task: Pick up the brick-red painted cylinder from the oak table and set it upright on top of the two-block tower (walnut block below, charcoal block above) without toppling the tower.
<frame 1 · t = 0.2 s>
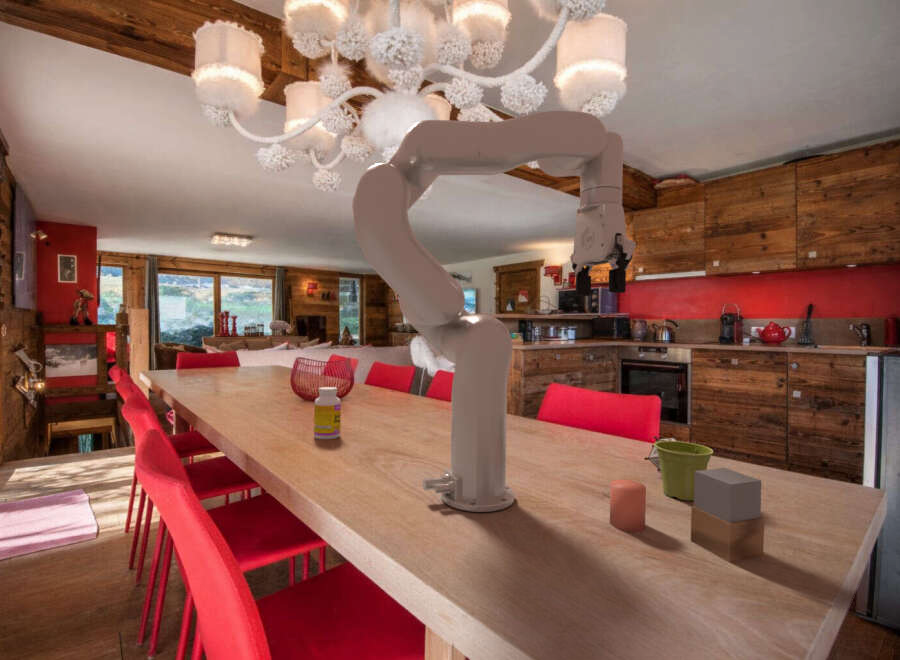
hand: (599, 294, 84), 36 cm above the table, tool pointing down, fingers open, 9 cm apart
game die: (669, 476, 91), on the table
tower top: (726, 512, 61), point 5 cm above the table, touching tower base
tower base: (725, 548, 61), on the table, touching tower top
cylinder: (627, 524, 68), on the table
supplement bottle: (327, 437, 118), on the table
plant pot: (682, 496, 81), on the table
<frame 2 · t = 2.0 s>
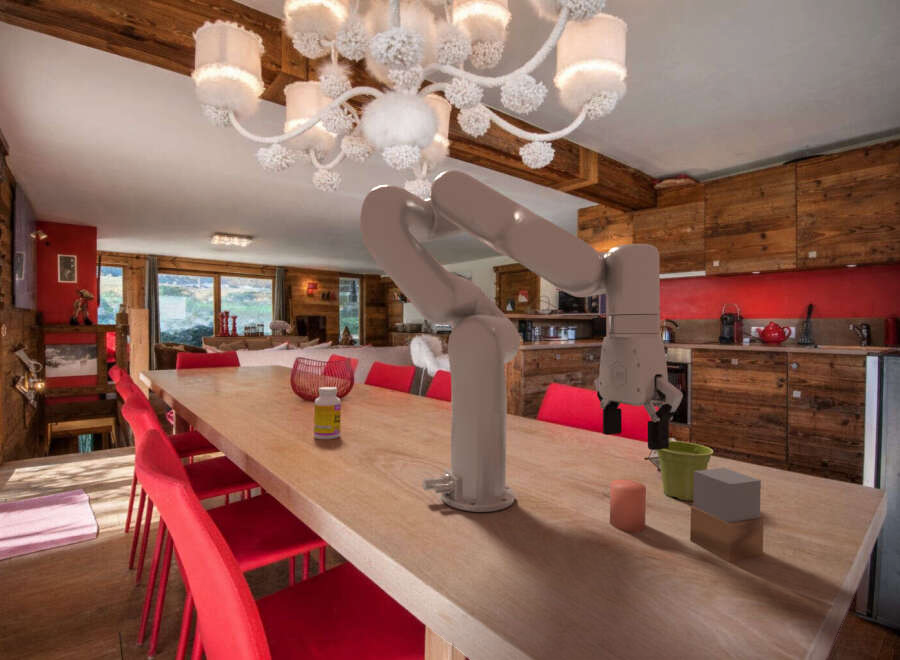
hand: (633, 440, 68), 13 cm above the table, tool pointing down, fingers open, 9 cm apart
nothing on the table moved.
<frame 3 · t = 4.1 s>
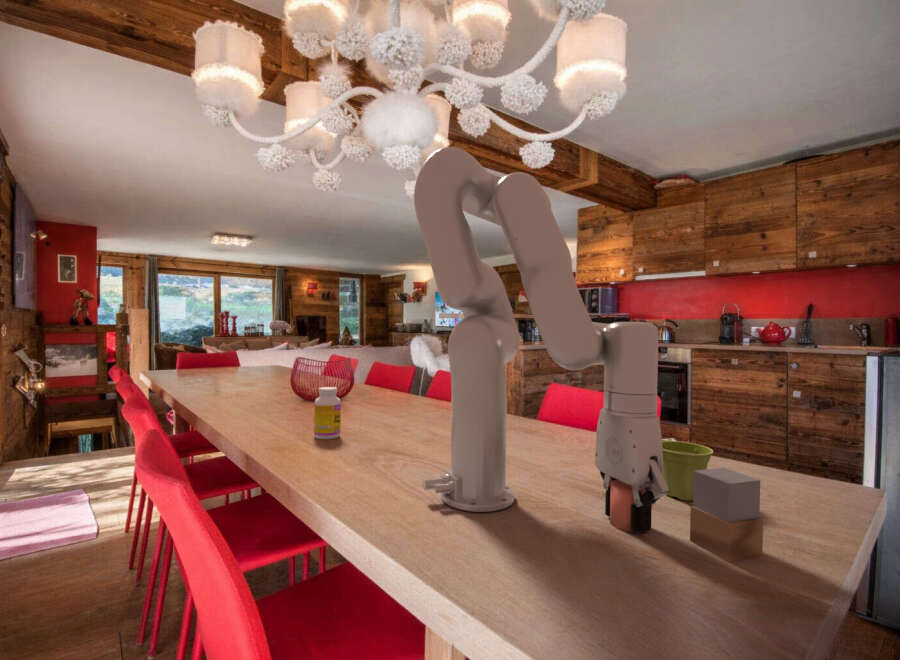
hand: (627, 521, 68), 0 cm above the table, tool pointing down, fingers closed on cylinder, 5 cm apart
cylinder: (627, 524, 68), on the table, touching gripper
everything else where it was.
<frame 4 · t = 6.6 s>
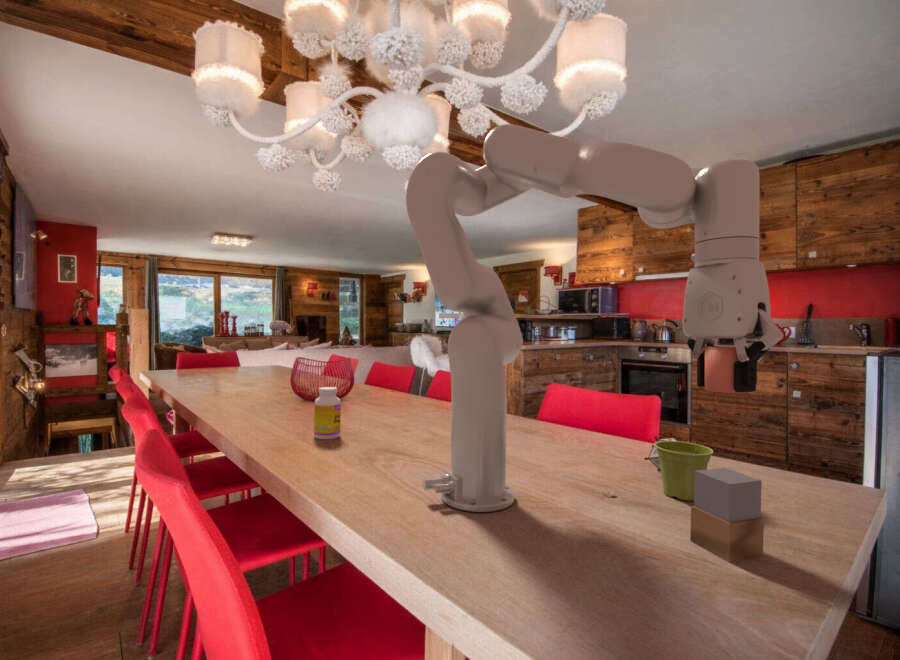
hand: (725, 387, 61), 22 cm above the table, tool pointing down, fingers closed on cylinder, 5 cm apart
cylinder: (725, 390, 61), point 21 cm above the table, touching gripper
everything else where it was.
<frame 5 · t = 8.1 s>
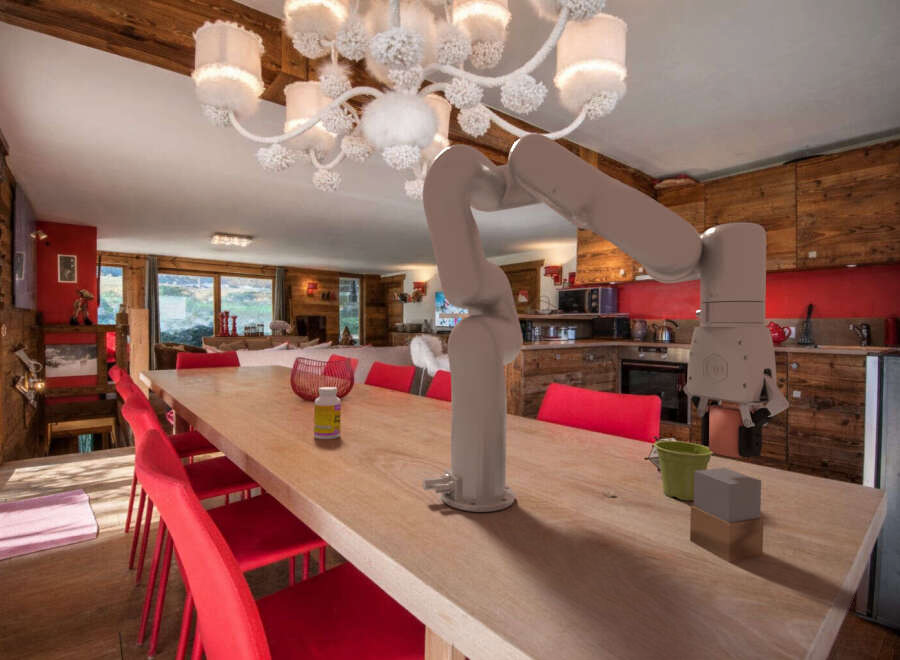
hand: (729, 448, 61), 14 cm above the table, tool pointing down, fingers closed on cylinder, 5 cm apart
cylinder: (730, 452, 61), point 13 cm above the table, touching gripper
everything else where it was.
when the fingers open (12 cm above the table, at t = 9.3 s): cylinder drops 1 cm, resting on tower top.
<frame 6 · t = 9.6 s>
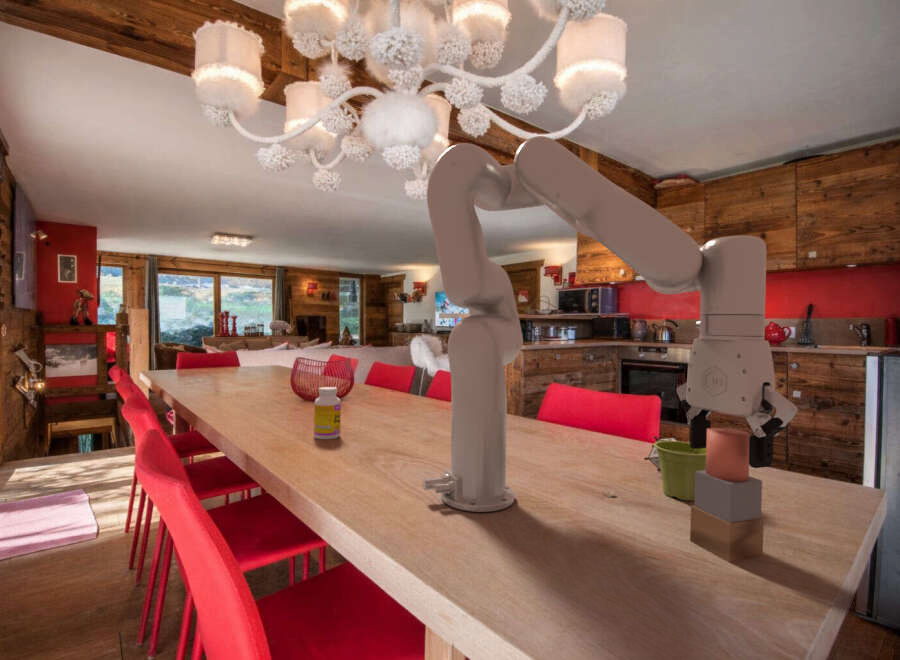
hand: (728, 456, 61), 13 cm above the table, tool pointing down, fingers open, 8 cm apart
tower top: (726, 512, 61), point 5 cm above the table, touching cylinder
tower base: (725, 548, 61), on the table
cylinder: (726, 475, 61), point 10 cm above the table, touching tower top
everything else where it was.
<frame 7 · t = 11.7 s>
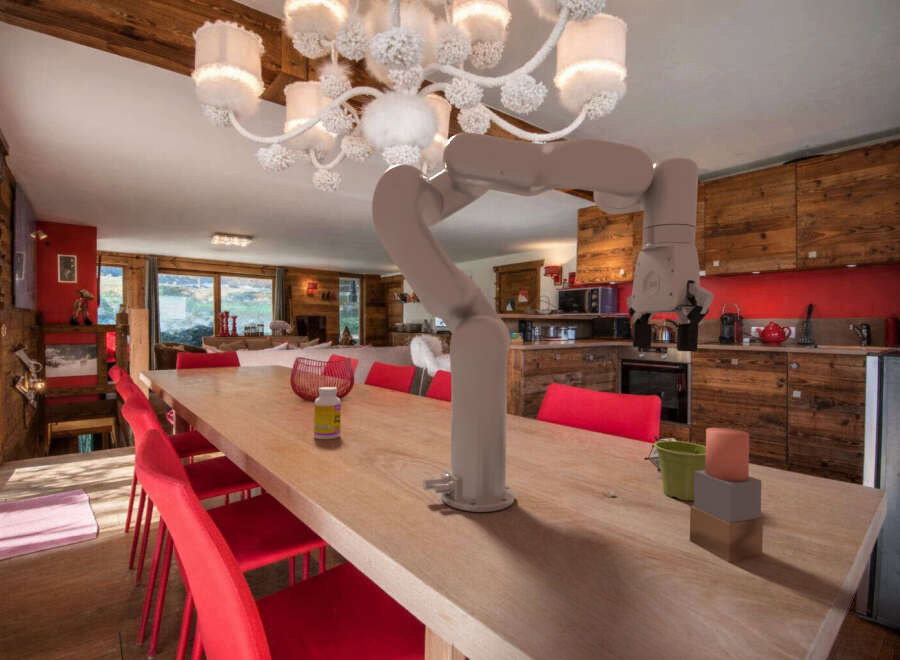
hand: (662, 348, 71), 27 cm above the table, tool pointing down, fingers open, 9 cm apart
tower top: (726, 512, 61), point 5 cm above the table, touching cylinder, tower base
tower base: (724, 548, 61), on the table, touching tower top
everything else where it was.
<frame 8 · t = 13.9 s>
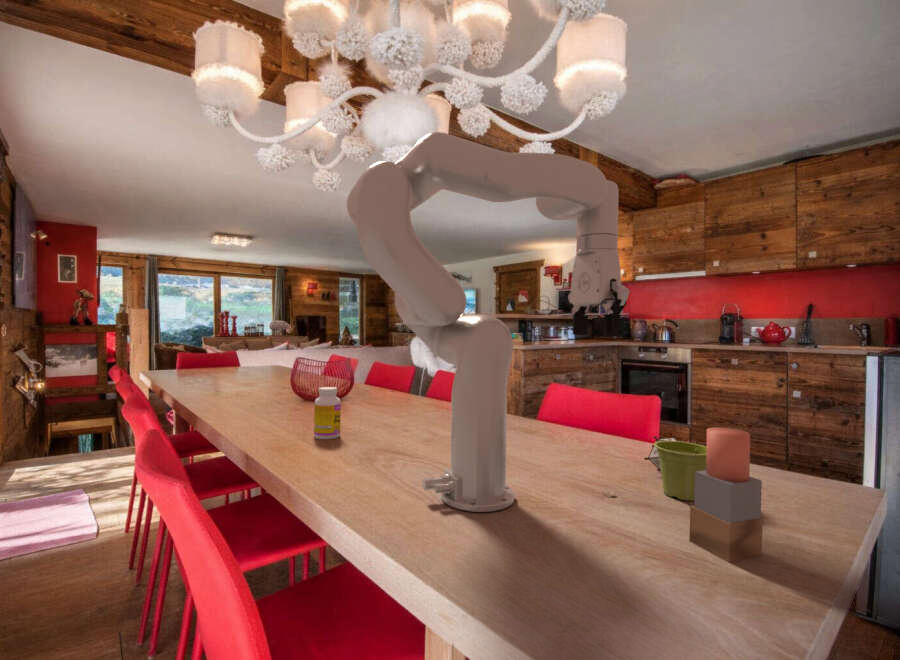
hand: (595, 335, 87), 28 cm above the table, tool pointing down, fingers open, 9 cm apart
nothing on the table moved.
at the end: cylinder 0.1 cm off-centre on the tower base, point 10.0 cm above the tower base's base; cylinder tilted 1°; tower top 0.2 cm from the tower base (horizontally) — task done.
